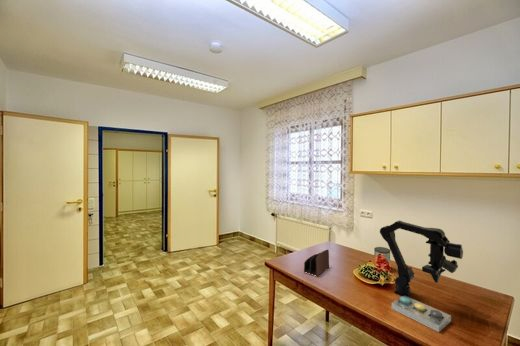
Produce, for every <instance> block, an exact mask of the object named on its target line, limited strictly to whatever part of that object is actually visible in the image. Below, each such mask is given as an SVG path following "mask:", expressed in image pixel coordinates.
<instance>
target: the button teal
mask: <svg viewBox="0 0 520 346" xmlns="http://www.w3.org/2000/svg"><path fill="white" fill-rule="evenodd" d="M407 297H408V296H407ZM407 297H403V296H400V297H399V298H400V303H402V304H404V305H406V306H409V305H410V299H409V298H410V297H409V298H407Z"/></svg>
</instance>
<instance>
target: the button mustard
mask: <svg viewBox="0 0 520 346" xmlns="http://www.w3.org/2000/svg"><path fill="white" fill-rule="evenodd" d="M423 304H424V303H423ZM423 304H420V303H415V304H414V307H415V310H417V311H419V312H421V313H424V312H425V310H426V307H425V306H424V305H423Z"/></svg>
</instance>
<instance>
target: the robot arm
mask: <svg viewBox="0 0 520 346" xmlns="http://www.w3.org/2000/svg"><path fill="white" fill-rule="evenodd" d="M399 229H400V230H404V231H406V232H410V233H413V234H417V235H421V236H423V237H424V238H426V239H428V240H426V241H425V244H427V245H429V253H428V255H427V256H428V257H429V261H428V262H427V263H428V264H426V265H424V266H422V267H421V271H422V272H423V273H427V274H430V276H431V278H432V279H433V282H434V283H435V284H437V283H439V281H440V278H441V275H442V274H443V273H444V272H445V271H448V272H449V273H451V274H454V273H455V272H456V271H457V269H458V268H459V265H458V262H457V261H456V260H455V259H459V260H462V259H463V257H464V249H463V245H462V244H460V243H452V242H451V241H450V240H449V238H448V237H447V236H446V234H445V232H444V230H443V229H441V228H437V227H424V226H420V225H417V224H414V223H413V224H412V223H409V222H405V221H402V220H397V221H395V222H394V223H392V224H390V225H386V226H383V227H381V228H380V229H379V234H380V236H381V237H382V238H383V240H384V241H385V242H386V243H387V245H388V249H390V253H391V254H392V257H393V260H394V261H395V264H396V267H397V276H396V278H394V279H393V280H394V283H395V291H393V293H395V294H398V295H399V296H400V297H403V296H404V295H405V296H407V297H409V296H410V295H412V293H411V287H410V286H411V285H410V282H412V281H413V280H414V278H415V272H414V271H413V268H412V266H408V265H407V264H406V261H405V260H404V256H403V255H402V252H401V250H400V248H399V245H398V243H397V241H396V233H395V231H397V230H399ZM445 255H446V256H447V257H451V258H455V259H453V260H448V259H447V257H446V256H445Z"/></svg>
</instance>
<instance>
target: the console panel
mask: <svg viewBox="0 0 520 346" xmlns="http://www.w3.org/2000/svg"><path fill="white" fill-rule="evenodd" d="M402 297H407V298H409V299H410V305H409V306H406V305H404V304H402V303H400V297H399V298H398V299H396V300H394V301H393V302H391V310H393V311H396V312H397V313H399V314H402V315H403V316H406V317H408V318H409V319H411V320H413V321H416V322H417V323H420V324H422V325H423V326H426V327H428V328H430V329H431V330H434V332H435V331H436V332H437V333H440V332H441V331H442V330H443V329H445V328H446V326H448V325H449V324H450V323H451V322H452V315H451V314H448V313H447V312H444V311H441V310H439V309H438V308H437V309H436V308H435V307H433V306H430V305H427V304H425V303H423V302H421V301H418V300H416V299H414V298H412V297H409V296H405V295H404V296H402ZM415 303H420V304H423V305H424V306H425V307H426V310H425V312H424V313H421V312H419V311H417V310H415V307H414V304H415ZM431 310H436V311H439V312H441V313H442V320H441V321H439V320H437V319H434V318H432V317H431V314H430V311H431Z"/></svg>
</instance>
